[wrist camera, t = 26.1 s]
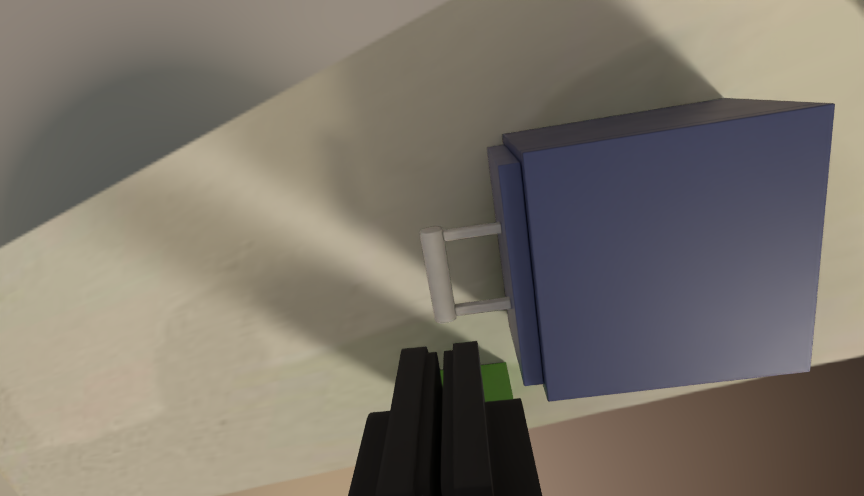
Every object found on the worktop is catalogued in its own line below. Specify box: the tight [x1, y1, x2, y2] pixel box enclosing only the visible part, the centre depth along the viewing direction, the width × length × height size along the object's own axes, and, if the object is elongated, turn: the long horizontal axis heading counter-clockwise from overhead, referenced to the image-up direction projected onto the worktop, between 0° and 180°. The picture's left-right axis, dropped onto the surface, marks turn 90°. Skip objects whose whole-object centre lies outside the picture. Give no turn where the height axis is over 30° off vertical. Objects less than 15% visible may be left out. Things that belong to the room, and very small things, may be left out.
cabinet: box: [502, 98, 835, 401], centre depth 30 cm, size 15×15×10 cm
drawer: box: [420, 145, 544, 386], centre depth 30 cm, size 18×13×8 cm
